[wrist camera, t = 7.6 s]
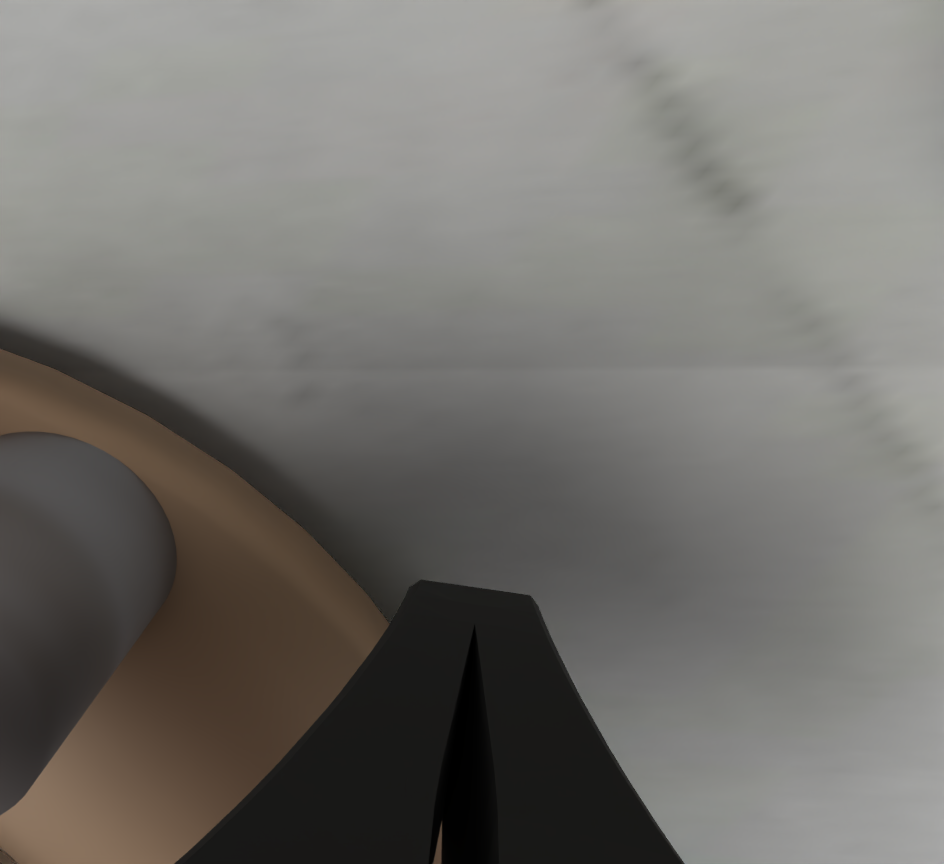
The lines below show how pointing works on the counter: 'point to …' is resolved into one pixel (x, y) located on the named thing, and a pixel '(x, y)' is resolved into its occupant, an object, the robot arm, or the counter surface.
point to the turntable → (148, 629)
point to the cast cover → (6, 858)
